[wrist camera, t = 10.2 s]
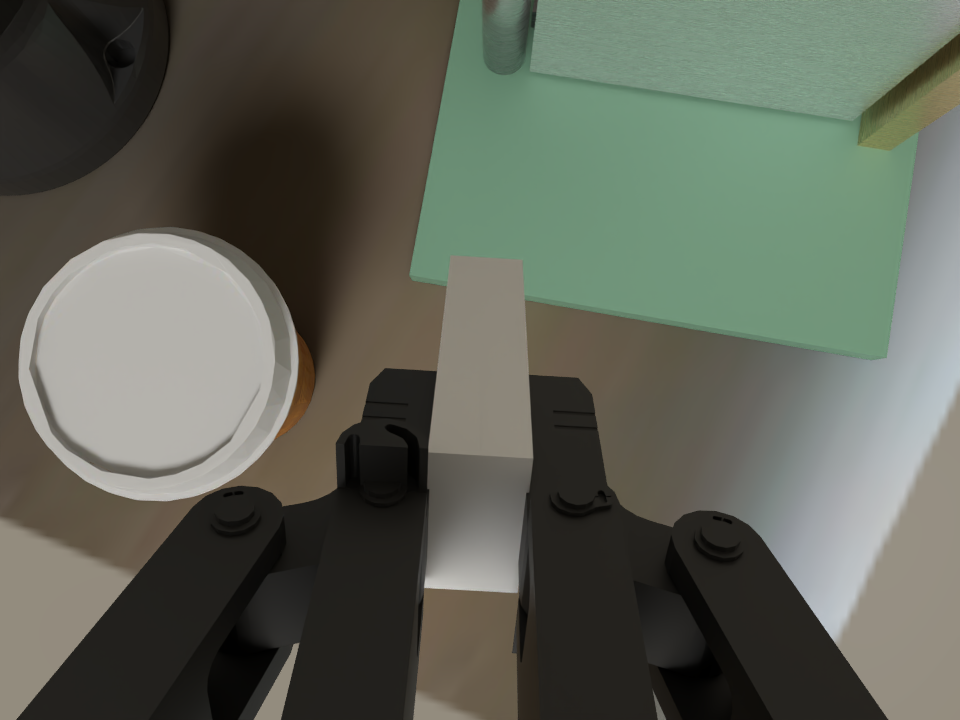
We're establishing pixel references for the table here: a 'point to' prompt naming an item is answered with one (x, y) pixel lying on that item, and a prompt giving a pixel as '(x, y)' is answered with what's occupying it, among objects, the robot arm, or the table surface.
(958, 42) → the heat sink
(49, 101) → the robot arm
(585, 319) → the table surface
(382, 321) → the table surface
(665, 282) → the motherboard
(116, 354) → the disposable coffee cup
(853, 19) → the grey flat slab
